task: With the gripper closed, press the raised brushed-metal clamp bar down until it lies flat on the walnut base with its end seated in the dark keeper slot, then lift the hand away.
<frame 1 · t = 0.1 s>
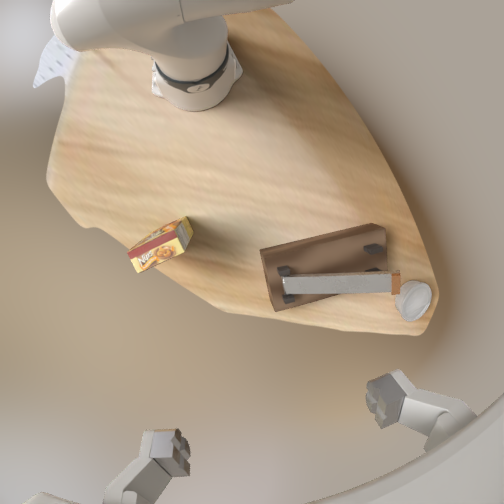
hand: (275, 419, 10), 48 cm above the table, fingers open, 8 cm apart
clamp bar: (339, 284, 48), point 13 cm above the table, hinge at 32.0°
ramekin: (406, 295, 67), on the table
candy box: (171, 232, 55), on the table
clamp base: (323, 260, 60), on the table
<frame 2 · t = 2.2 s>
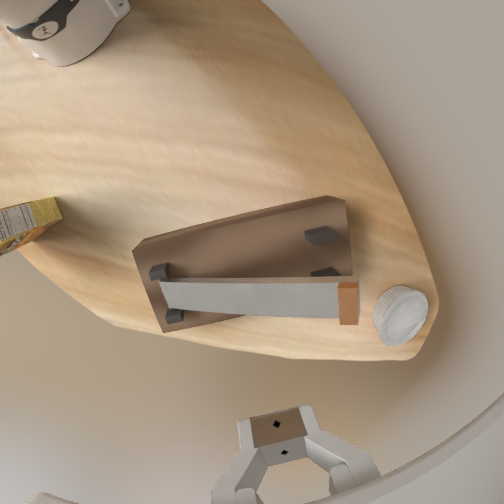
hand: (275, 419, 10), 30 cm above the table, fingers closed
clamp bar: (241, 299, 27), point 13 cm above the table, hinge at 32.0°
ramekin: (390, 307, 46), on the table
candy box: (42, 218, 34), on the table
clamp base: (245, 255, 39), on the table
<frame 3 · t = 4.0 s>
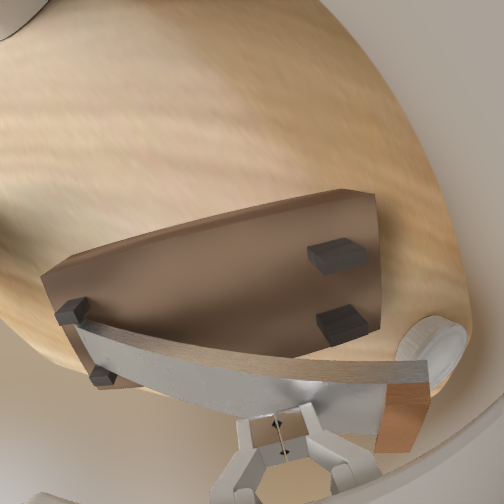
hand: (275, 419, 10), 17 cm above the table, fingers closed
clamp bar: (183, 381, 13), point 13 cm above the table, hinge at 31.5°, touching gripper
ramekin: (418, 342, 32), on the table
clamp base: (213, 282, 25), on the table
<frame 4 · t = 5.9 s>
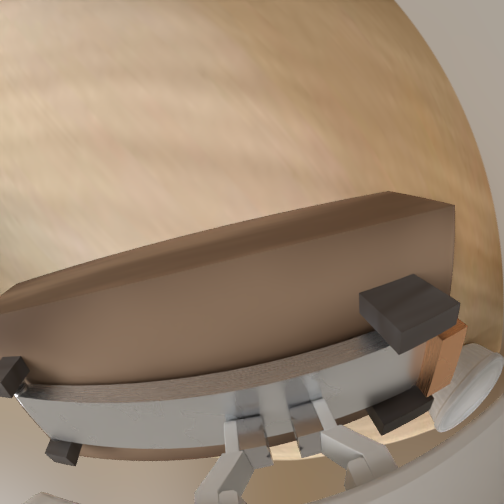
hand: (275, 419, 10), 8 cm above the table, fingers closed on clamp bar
clamp bar: (207, 422, 9), point 8 cm above the table, hinge at 1.9°, touching gripper
ramekin: (449, 372, 24), on the table
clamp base: (204, 327, 17), on the table
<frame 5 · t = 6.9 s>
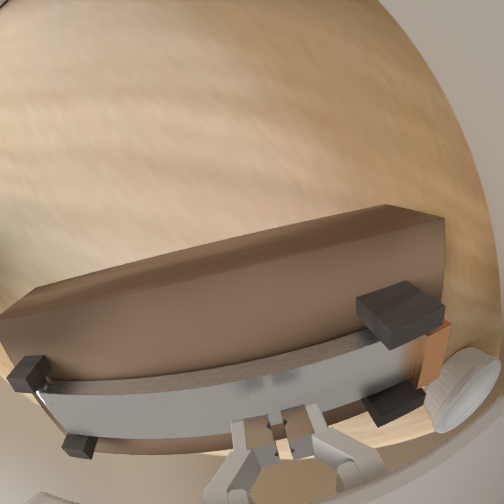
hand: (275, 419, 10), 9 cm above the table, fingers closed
clamp bar: (221, 410, 11), point 8 cm above the table, hinge at 1.2°
ramekin: (448, 376, 25), on the table
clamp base: (216, 329, 18), on the table
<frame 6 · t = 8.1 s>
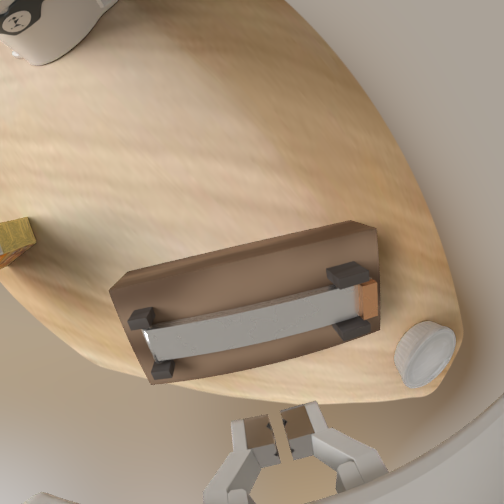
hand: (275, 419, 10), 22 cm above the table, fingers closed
clamp bar: (260, 325, 24), point 8 cm above the table, hinge at 1.2°
ramekin: (414, 344, 38), on the table
candy box: (16, 241, 27), on the table
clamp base: (250, 294, 32), on the table
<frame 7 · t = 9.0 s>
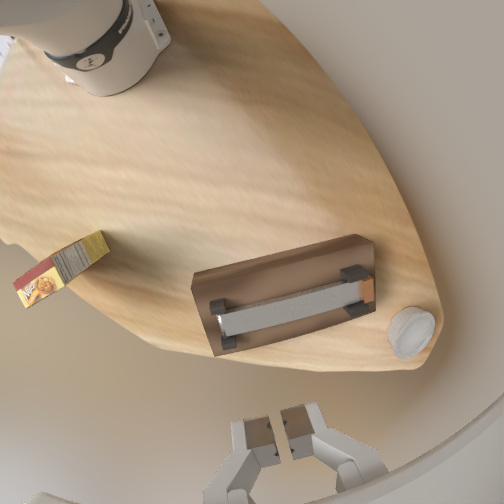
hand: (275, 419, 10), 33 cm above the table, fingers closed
clamp bar: (298, 307, 37), point 8 cm above the table, hinge at 1.2°
ramekin: (402, 324, 51), on the table
candy box: (86, 250, 39), on the table
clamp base: (284, 286, 44), on the table
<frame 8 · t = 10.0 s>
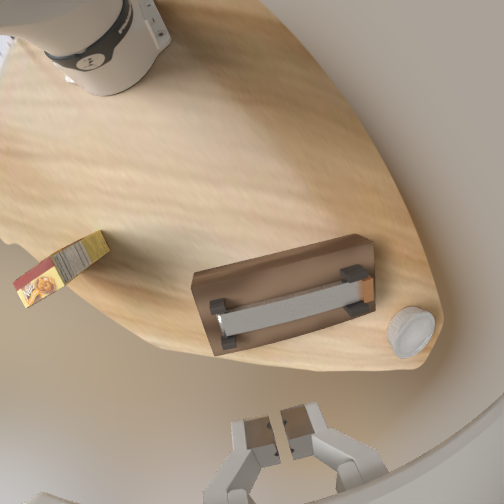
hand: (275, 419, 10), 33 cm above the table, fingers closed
clamp bar: (298, 307, 37), point 8 cm above the table, hinge at 1.2°
ramekin: (402, 324, 51), on the table
candy box: (86, 250, 39), on the table
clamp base: (284, 286, 44), on the table
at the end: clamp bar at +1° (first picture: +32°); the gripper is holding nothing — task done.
